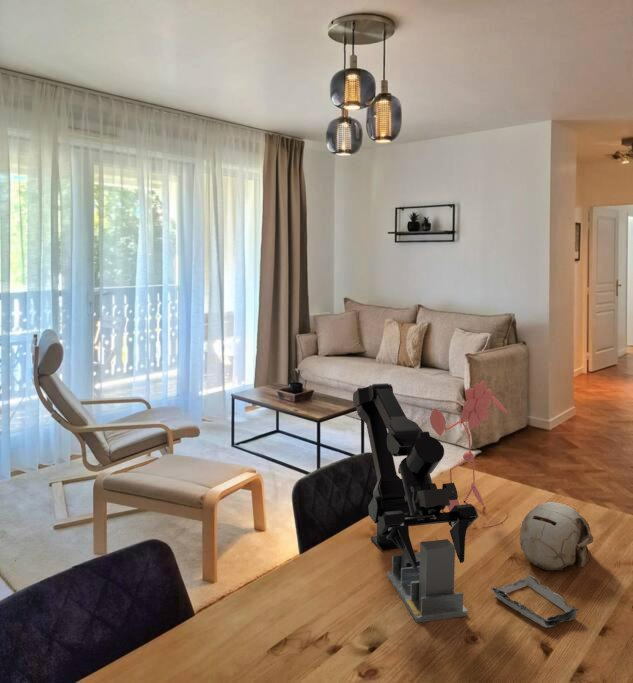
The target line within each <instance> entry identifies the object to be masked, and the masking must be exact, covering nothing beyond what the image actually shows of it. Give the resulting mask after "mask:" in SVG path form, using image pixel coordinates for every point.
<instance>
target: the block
mask: <svg viewBox="0 0 633 683" xmlns="http://www.w3.org/2000/svg"><path fill="white" fill-rule="evenodd" d="M419 543H420V544H419V552H420V575H419V603H420V604H421V597H426V596H434V595H442V594H450V593H455V591H454V590H455V569H456V568H455V564H456V562H455V561H456V550H455V546H454V544H453V542H451V541H450V540H449V539H448V538H446V539H445V538H444V539H437V540H428V541H420V542H419Z"/></svg>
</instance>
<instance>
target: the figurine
mask: <svg viewBox="0 0 633 683" xmlns="http://www.w3.org/2000/svg"><path fill="white" fill-rule="evenodd" d="M464 394H465V395H464V396H465V398H466V401H465V402H464V404H463V406H462V412H461V415H460V419H459V421H457V422H454V423H452V424H451V425H450V426H448V427H446V426H447V425H446V417H445V415H444V414H443V413H442V411H440V410H438V408H437V407H433V410H432V411H431V412H430V415H429V416H430V417H429V423H430V426H431V428H432V429H433V431H434V432H435V433H436V434H437V435H438V436H440V437H441V435H442V434H443V433H444V431H445V432H446V431H448V430H449V429H452V428H453V427H455V426H457V425H459V424H460V423H461V424H462V426H463V428H464V430H465V432H466V434H467V437H468V438H467V439H468V440H467V441H468V451H465V452H464V453H463V455H462V458H463V460H461V462H459V463H458V464H456V465H454V466H453V467H450V469H449V480H450V482H449V483H453V479H452V478H453V477H452V470H454V469H455V468H457V467H458V466H460V465H462V464H463V463H465V462H467V463H471V462H472V475H473V476H472V477H473V478H472V480H473V482H470V489H469V491H468V493H466V496H465V497H464V500H463V501H465V502H466V501H467V500H468V498H469V497H470V495H471V493H472V492H473V495H474V496H475V498H476V500H477V501H478V502H479V503H480V505H482V506H485V503H484V501H483V498H482V496H481V494H480V491H479V490H478V488H477V487H476V485H475V455H474V453H473V452H472V450H471V449H472V447H471V444H472V443H471V434H470V432H469V431H472V430H473V429H474V428H476V429H478V428H479V427H480V425H481V421H483V422H484V421H487V420H488V419H489V417H490V413H489V410H488V409H489V407H490V406H491V404H492V402H493V404H494V405H495V406H496V407H497V408H498V409H499V410H501V411H502V413H505V414H508V413H509V412H508V411H507V409H506V407H504V405H503V404H502V402H501V401H500V400H499V399H498V398H497V397H496V396H495V395H493V390H492V389H491V388H489V389H487V383H486V380H482V381H481V382H480V383H479V382H476V383H475V384H474V388H473V387H469V388H467V389H466V390H465V392H464ZM467 422H468V423H467ZM465 423H467V424H468V425H467V426H468V428H467V426H466V424H465ZM468 429H469V430H468ZM455 505H460V503H459V499H458V498H457V500H450V506H445V508H446V507H447V509H448V512H450V511H451V510H452V508H453V507H454V506H455ZM445 508H444V509H443V510H441V511H442V512H444V511H445ZM504 508H505V510H506V512H508V511H507V510H508V509H506V507H504ZM507 518H508V516H506V517H505V519H504V521H506V519H507ZM503 523H504V522H503V521H501V522H499V523H496V524H494V525H489V526H488V528H492V527H495V526H498V525H503ZM483 528H484V529H485V528H487V526H482V529H483Z"/></svg>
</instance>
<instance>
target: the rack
mask: <svg viewBox="0 0 633 683" xmlns="http://www.w3.org/2000/svg"><path fill="white" fill-rule="evenodd" d="M414 554H415V557H416V562H417V568H415V569H414V568H413V566H412V565H411V564H410V562H409V561H408V559H407V558H406V557H405V555H404V554H403V553H402V554H393V555H392V556H391V557H392V559H391V560H392V561H391V563H392V564H391V570H387V572H386V573H387V574H386V576H387V579H389V580H390V583H391V584H392V586H393V588H394V589H395V590H396V592H397V593H398V595H399V596H400V598H401V600H402V602H403V604H404V605H405V607H406V608H407V609H408V611H409V613H410V615H411V616H412V618H413V619H414V621H415V622H416V624H418V623H426V622H433V621H439V620H448V619H453V618H461V617H468V616H469V610H468V609H467V608H466V607H465V605H464V593H463V592H462V591H458V592H454V593H450V594H442V595H434V596H426V597H421V604H420V603H419V575H420V551H418V552H414Z"/></svg>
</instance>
